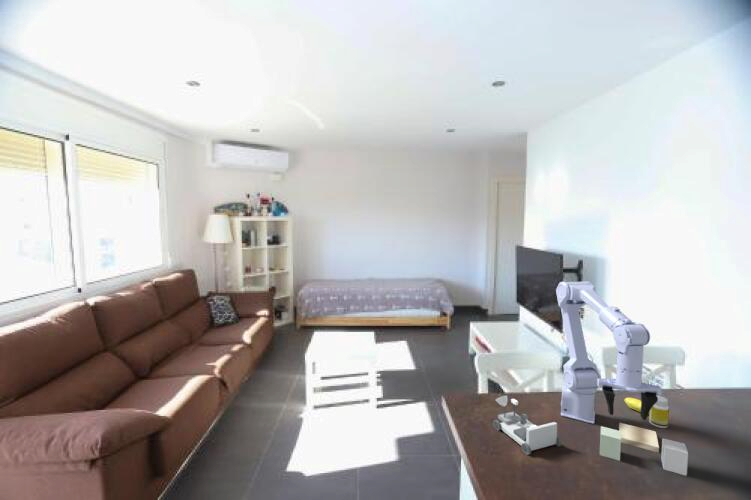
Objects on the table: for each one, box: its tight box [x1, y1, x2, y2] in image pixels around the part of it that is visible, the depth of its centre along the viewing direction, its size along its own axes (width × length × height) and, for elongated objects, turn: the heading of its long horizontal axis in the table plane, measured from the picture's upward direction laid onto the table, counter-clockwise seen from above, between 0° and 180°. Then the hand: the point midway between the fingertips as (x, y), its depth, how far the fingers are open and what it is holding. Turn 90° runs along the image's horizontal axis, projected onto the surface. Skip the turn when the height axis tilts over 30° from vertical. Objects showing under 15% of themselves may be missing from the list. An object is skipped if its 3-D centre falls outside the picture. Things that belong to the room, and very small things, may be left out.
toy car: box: [492, 393, 562, 456], centre depth 109 cm, size 18×10×12 cm
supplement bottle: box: [648, 395, 670, 429], centre depth 114 cm, size 5×5×8 cm
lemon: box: [624, 397, 650, 415], centre depth 123 cm, size 4×8×4 cm, turn 21°
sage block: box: [599, 426, 622, 462], centre depth 100 cm, size 5×5×6 cm
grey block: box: [661, 438, 689, 477], centre depth 94 cm, size 5×5×6 cm
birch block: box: [618, 422, 660, 453], centre depth 107 cm, size 9×9×2 cm
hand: (626, 415), depth 100 cm, fingers open, 7 cm apart
